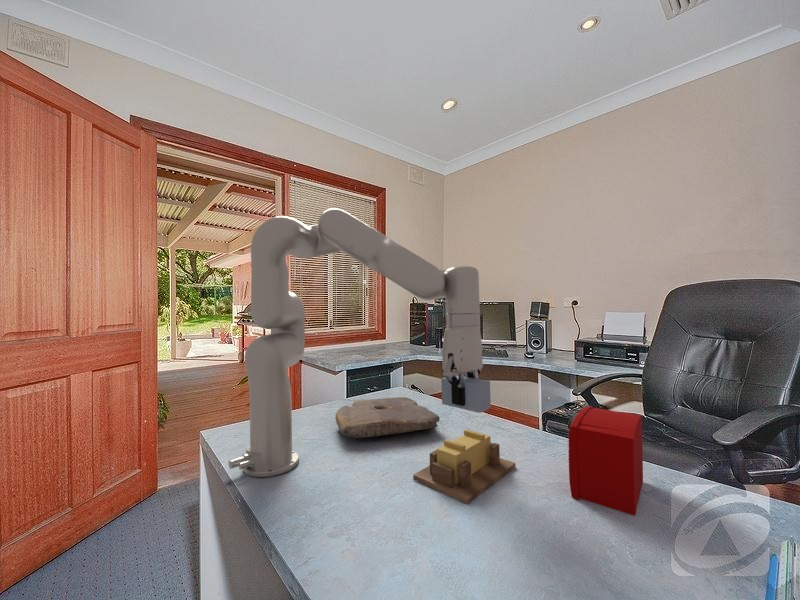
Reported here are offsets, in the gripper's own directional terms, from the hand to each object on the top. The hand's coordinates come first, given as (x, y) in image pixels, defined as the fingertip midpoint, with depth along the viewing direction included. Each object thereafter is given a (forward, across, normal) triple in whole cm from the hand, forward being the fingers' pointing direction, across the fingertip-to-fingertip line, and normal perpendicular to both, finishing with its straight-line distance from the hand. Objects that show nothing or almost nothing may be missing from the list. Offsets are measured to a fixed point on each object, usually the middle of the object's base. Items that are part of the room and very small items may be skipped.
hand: (465, 401), depth 79 cm
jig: (+16, 0, 0) cm, 16 cm away
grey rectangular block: (+1, 0, 0) cm, 1 cm away
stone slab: (+17, -8, -37) cm, 42 cm away
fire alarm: (+17, -14, +25) cm, 33 cm away
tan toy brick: (+15, 0, 0) cm, 15 cm away
